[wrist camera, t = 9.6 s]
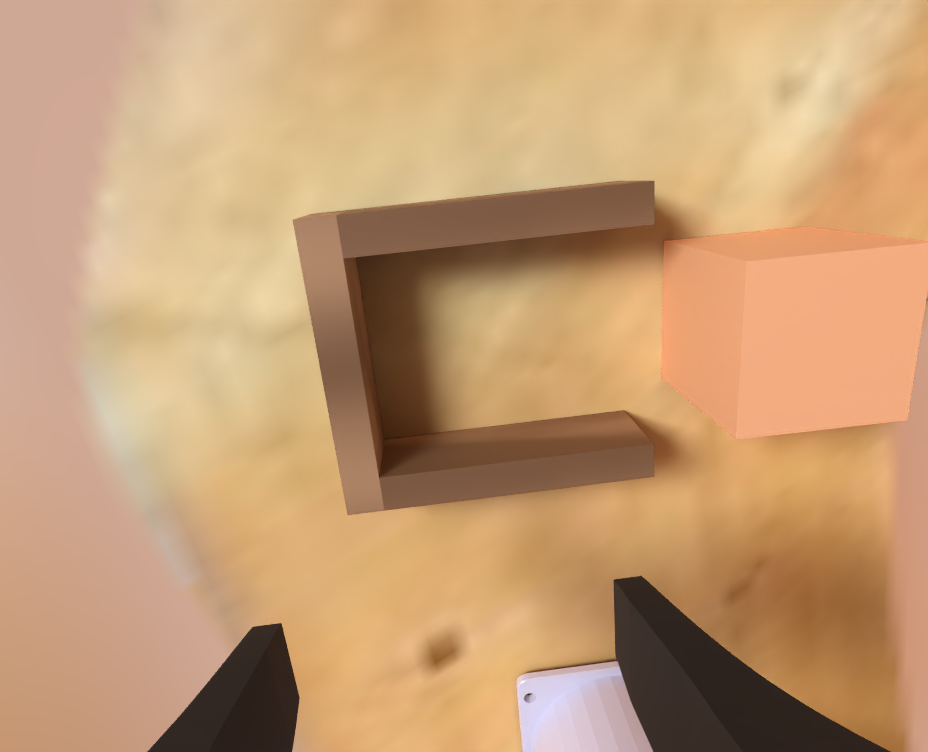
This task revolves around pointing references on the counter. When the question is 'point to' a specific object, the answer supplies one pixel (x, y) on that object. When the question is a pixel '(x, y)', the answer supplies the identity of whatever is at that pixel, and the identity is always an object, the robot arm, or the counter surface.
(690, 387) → the tethered block
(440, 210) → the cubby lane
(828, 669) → the counter surface
